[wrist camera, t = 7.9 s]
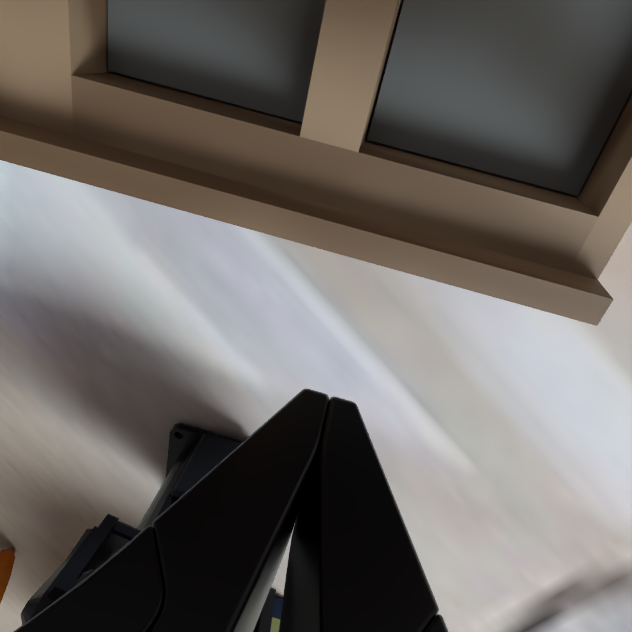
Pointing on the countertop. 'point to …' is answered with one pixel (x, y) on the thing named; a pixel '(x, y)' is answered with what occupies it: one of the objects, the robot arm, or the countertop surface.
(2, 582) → the carrot
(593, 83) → the box
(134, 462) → the countertop surface
